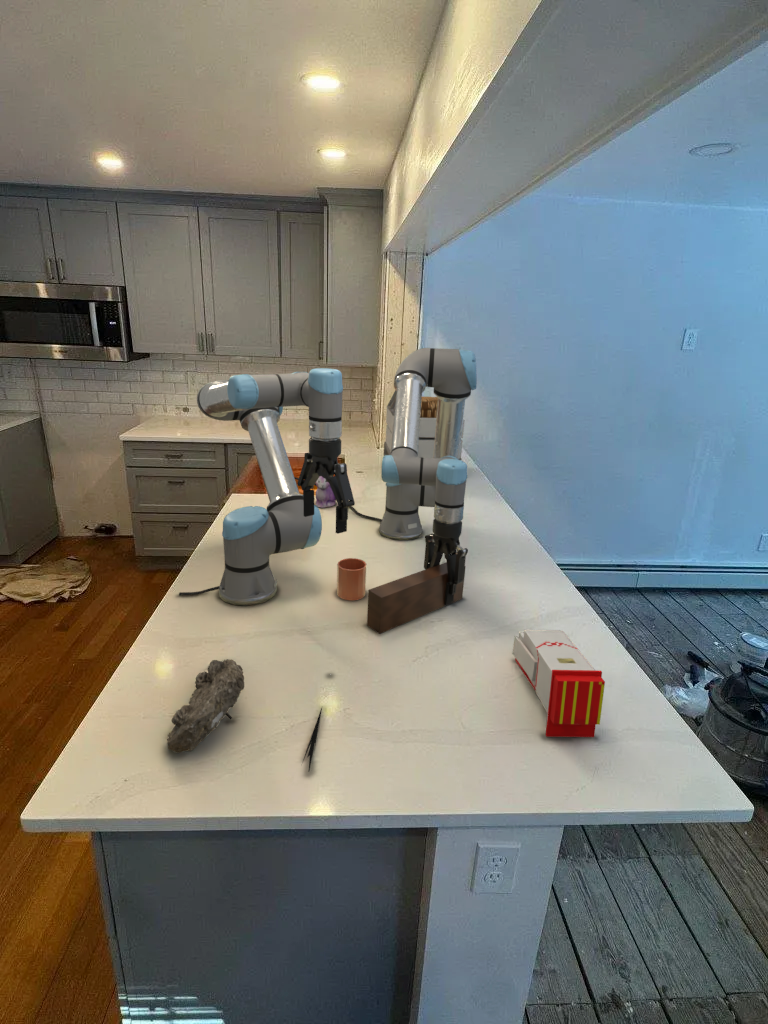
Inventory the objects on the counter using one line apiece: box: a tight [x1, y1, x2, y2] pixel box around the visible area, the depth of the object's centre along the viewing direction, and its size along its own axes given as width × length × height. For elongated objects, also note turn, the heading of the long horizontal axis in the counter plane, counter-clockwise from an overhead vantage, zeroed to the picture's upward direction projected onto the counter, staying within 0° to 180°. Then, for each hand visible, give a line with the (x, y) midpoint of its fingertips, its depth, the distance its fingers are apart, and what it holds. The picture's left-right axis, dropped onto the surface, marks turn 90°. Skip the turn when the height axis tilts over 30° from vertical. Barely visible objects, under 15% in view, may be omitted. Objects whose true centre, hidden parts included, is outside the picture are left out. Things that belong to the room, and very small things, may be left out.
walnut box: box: [366, 561, 466, 635], centre depth 147 cm, size 30×5×10 cm, turn 131°
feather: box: [301, 673, 332, 771], centre depth 108 cm, size 2×28×2 cm
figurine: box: [315, 476, 337, 509], centre depth 223 cm, size 9×10×15 cm
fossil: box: [166, 658, 245, 754], centre depth 106 cm, size 22×10×15 cm
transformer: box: [383, 389, 465, 461], centre depth 268 cm, size 34×33×41 cm
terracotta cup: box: [336, 557, 368, 601], centre depth 155 cm, size 8×8×9 cm
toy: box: [511, 629, 606, 738], centre depth 118 cm, size 12×13×30 cm
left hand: (324, 523), depth 138 cm, fingers open, 13 cm apart
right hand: (441, 599), depth 155 cm, fingers closed on walnut box, 5 cm apart
